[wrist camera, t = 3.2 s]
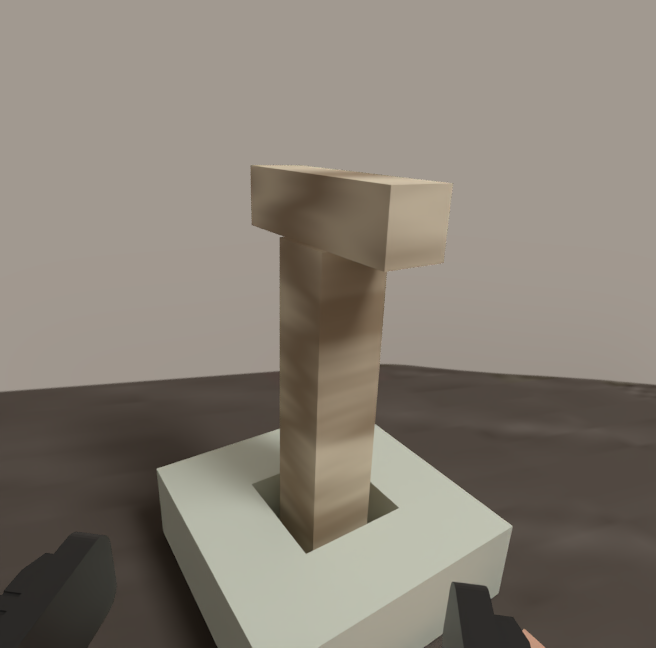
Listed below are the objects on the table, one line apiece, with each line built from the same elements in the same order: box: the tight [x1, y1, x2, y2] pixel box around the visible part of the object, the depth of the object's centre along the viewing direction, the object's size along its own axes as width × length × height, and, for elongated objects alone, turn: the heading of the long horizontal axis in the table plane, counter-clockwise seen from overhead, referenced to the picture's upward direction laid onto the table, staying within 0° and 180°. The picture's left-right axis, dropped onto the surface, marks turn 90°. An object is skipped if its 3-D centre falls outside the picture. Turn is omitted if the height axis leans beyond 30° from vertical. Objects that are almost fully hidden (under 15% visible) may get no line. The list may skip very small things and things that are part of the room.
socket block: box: [157, 425, 513, 648], centre depth 24 cm, size 12×12×4 cm
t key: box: [251, 165, 453, 554], centre depth 21 cm, size 9×3×18 cm, turn 34°
